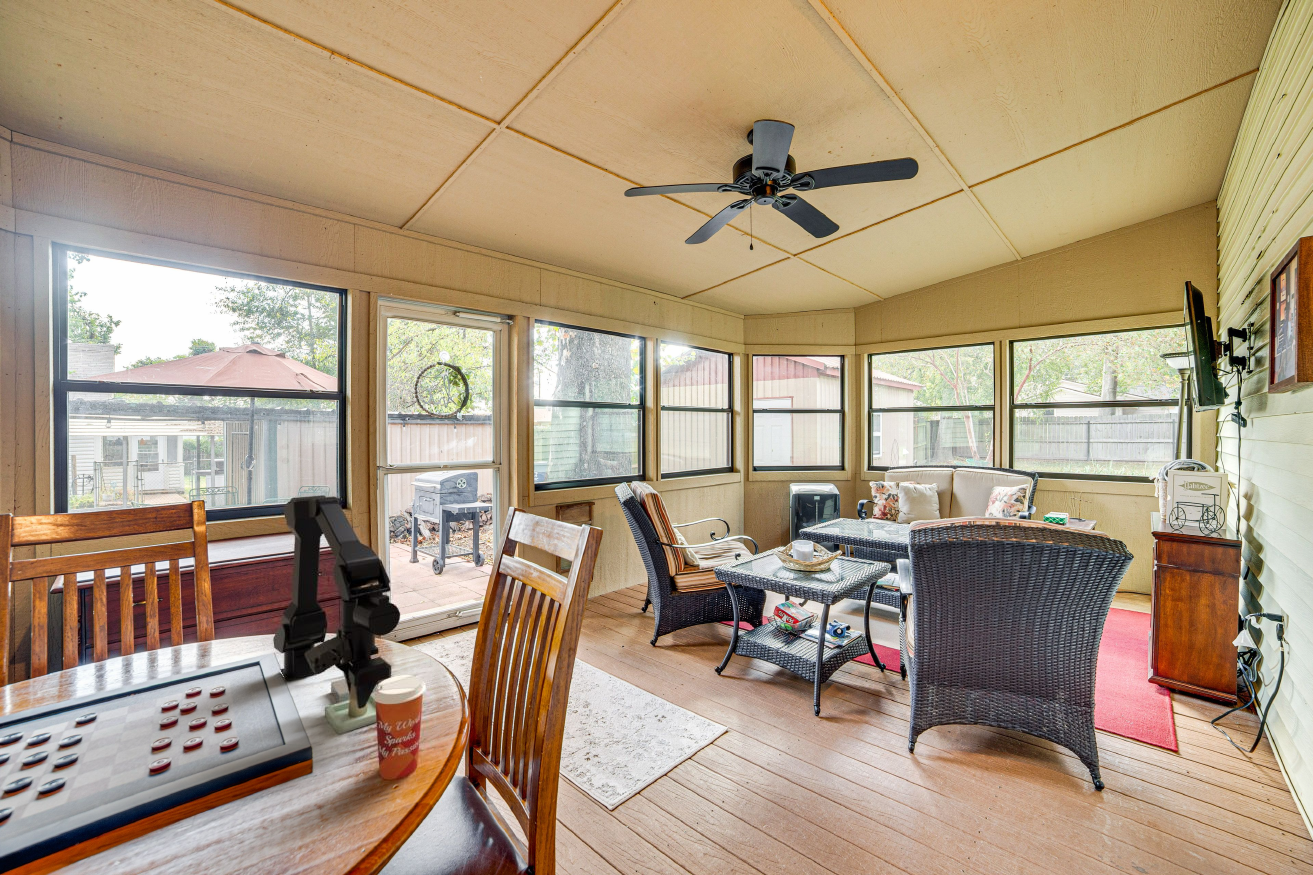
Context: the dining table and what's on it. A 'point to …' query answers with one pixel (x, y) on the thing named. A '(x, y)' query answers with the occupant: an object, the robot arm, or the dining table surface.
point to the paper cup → (398, 725)
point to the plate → (342, 690)
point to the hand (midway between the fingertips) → (357, 702)
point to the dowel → (355, 705)
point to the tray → (343, 721)
